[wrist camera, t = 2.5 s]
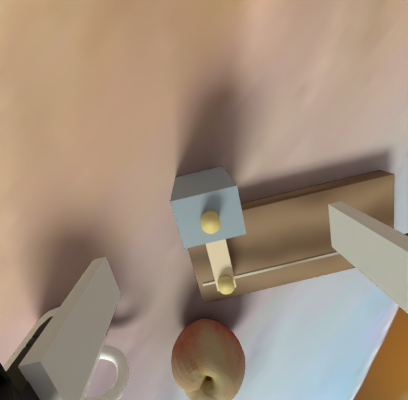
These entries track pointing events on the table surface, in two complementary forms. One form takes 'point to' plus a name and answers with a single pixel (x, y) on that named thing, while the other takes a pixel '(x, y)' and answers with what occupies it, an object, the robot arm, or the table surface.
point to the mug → (105, 352)
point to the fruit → (208, 361)
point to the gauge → (209, 218)
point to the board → (294, 235)
